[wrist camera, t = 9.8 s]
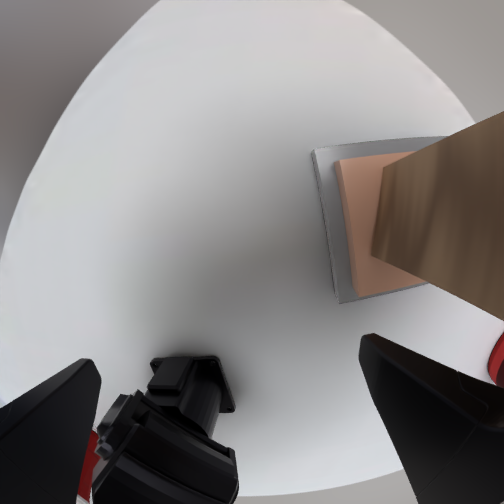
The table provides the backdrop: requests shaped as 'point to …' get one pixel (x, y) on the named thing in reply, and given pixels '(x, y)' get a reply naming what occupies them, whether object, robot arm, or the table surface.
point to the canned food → (497, 363)
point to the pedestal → (360, 214)
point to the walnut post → (449, 215)
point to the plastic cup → (88, 470)
